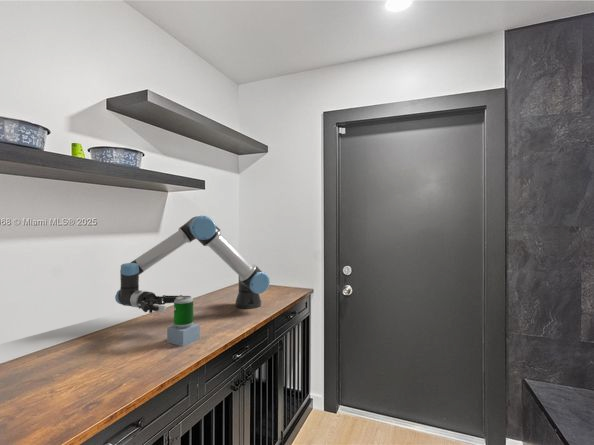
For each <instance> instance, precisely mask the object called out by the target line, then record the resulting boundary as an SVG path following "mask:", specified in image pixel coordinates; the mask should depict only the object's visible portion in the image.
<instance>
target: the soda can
mask: <svg viewBox="0 0 594 445" xmlns="http://www.w3.org/2000/svg"><path fill="white" fill-rule="evenodd" d="M178 296H179V297H177V298H176V299H175V300H174V303H173V326H174V325H175V326H176V327H177V328H188V327H190V326H191V325H192V324H193V323H194V298H193V297H192V295H182V296H180V295H178Z"/></svg>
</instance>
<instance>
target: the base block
mask: <svg viewBox="0 0 594 445" xmlns="http://www.w3.org/2000/svg"><path fill="white" fill-rule="evenodd" d="M166 328H167V330H166V332H167V333H166V334H167V338H166V339H167V341H166V342H167V343H169V344H172V345H175V346H176V345H177V346H181V347H184V346H187V345H189V344H191V343H194V342H196V341H199V340H200V339H201V337H200V336H201V333H200V332H201V331H200V330H201V324H198V323H194V322H193V324H192V325H191V326H190V327H188V328H177V327H176V326H175V325H174V324H173V325H171V326H168V327H166Z"/></svg>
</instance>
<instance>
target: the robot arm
mask: <svg viewBox="0 0 594 445" xmlns="http://www.w3.org/2000/svg"><path fill="white" fill-rule="evenodd" d="M195 240H197V241H198V242H199V243H200V244H201V245H202V246H203V247H209V249H211V250H212V251H213V252H214V253H215V254H216V255H217V256H218V257H219V258H220V259H221V260H222V261H224V263H226V265H228V267H230V268H231V269H232V270H233V271H234V272H235V274H237V275H238V293H237V296H236V301H235V307H236V308H238V309H243V310H244V309H248V310H249V309H256V308H259V307H261V306H262V300H261V295H260V294H264V293H265V292H266V291H267V290H268V288H269V287H270V282H271V280H270V277H269V275H268V274H267V273H266V272H263V271H262V270H261V269H260V268H259V266H257V265H256V264H251V263H250V262H249V261H248V260H247V259H246V258H245V257H244V256H243V255H242V254H241V253H240V252H239V251H238V250H237V249H236V248H235V247H234V246H233V245H232V244H231V243H230V242H229V241H228V240H227V239H226V238H225V237H224V236H223V235H222V232H221V229H220V228H219V227H218V226H217V225H216V223H215V221H214V220H213V219H212V218H211V217H209V216H207V215H199V216H198V215H197V216H194V217H191V218H190V219H188V221H186V222H185V223H184V224H183V225H181V226H180V227H178V230H177V231H176V232H174V233H173V234H172V235H169V236H168V237H167V238H165V239H164V240H162V241H161V242H159V243H158V244H156V245H154V246H153V247H151V248H150V249H148V250H147V251H146V252H144V253H142V254H141V255H139V256H138V257H136V258H135V259H133V260H132V261H130V262H126V263H122V264H121V265H120V271H119V273H120V276H119V278H120V288H119V290H117V292H116V294H115V297H114V299H115V302H117V304H119V305H122V306H124V307H125V306H126V307H131V308H132V307H133V308H138V309H140V310H142V311H143V312H144V313H147V312H148V313H149V314H152V313H153V312H158V313H163V314H166V313H167V305H166V304H174V300H175V299H176V298H177V297H179V296H183V295H182V294H180V295H164V294H163V295H162V296H161V295H156V294H155V293H154V292H152V291H147V290H140V288H139V287H140V286H139V285H140V284H139V282H140V280H139V278H140V275H141V274H142V273H144V272H145V271H147V270H148V269H150V268H151V267H153V266H154V265H156V264H158V262H160V261H161V260H163V259H164V258H166V257H167V256H169V255H170V254H172V253H173V252H175V251H176V250H177V249H179V248H181V247H182V246H184V245H185V244H187V243H188V244H189V243H190V244H191V242H193V241H195Z"/></svg>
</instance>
